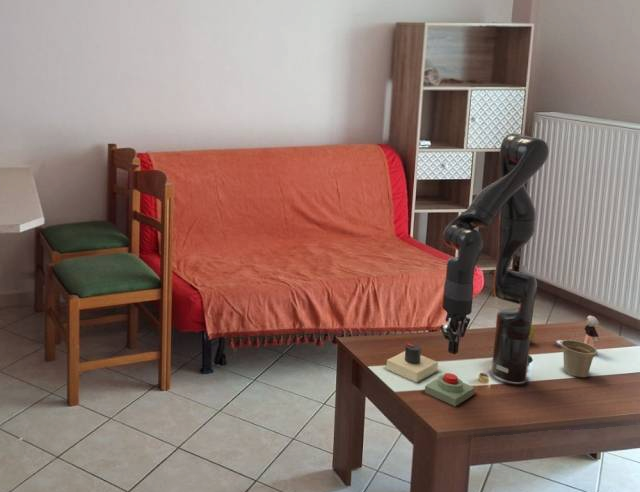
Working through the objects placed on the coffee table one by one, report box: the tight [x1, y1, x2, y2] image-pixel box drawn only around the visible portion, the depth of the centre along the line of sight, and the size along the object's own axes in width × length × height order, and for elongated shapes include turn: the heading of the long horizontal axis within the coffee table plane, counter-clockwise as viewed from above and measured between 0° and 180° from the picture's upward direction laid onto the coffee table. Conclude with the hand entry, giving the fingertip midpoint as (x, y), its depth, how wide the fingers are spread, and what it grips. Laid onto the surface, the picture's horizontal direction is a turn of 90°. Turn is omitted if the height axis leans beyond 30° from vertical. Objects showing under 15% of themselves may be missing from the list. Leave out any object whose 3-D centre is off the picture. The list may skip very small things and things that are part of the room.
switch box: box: [424, 374, 476, 407], centre depth 198 cm, size 11×9×4 cm
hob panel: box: [385, 350, 439, 383], centre depth 212 cm, size 12×10×3 cm
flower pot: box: [560, 339, 598, 378], centre depth 212 cm, size 9×9×9 cm
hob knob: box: [404, 342, 422, 364], centre depth 211 cm, size 4×4×5 cm
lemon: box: [530, 324, 535, 342], centre depth 232 cm, size 6×6×8 cm
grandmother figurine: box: [583, 315, 600, 348], centre depth 226 cm, size 8×4×13 cm, turn 5°
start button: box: [443, 372, 458, 384], centre depth 198 cm, size 4×4×2 cm
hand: (453, 352), depth 197 cm, fingers closed
